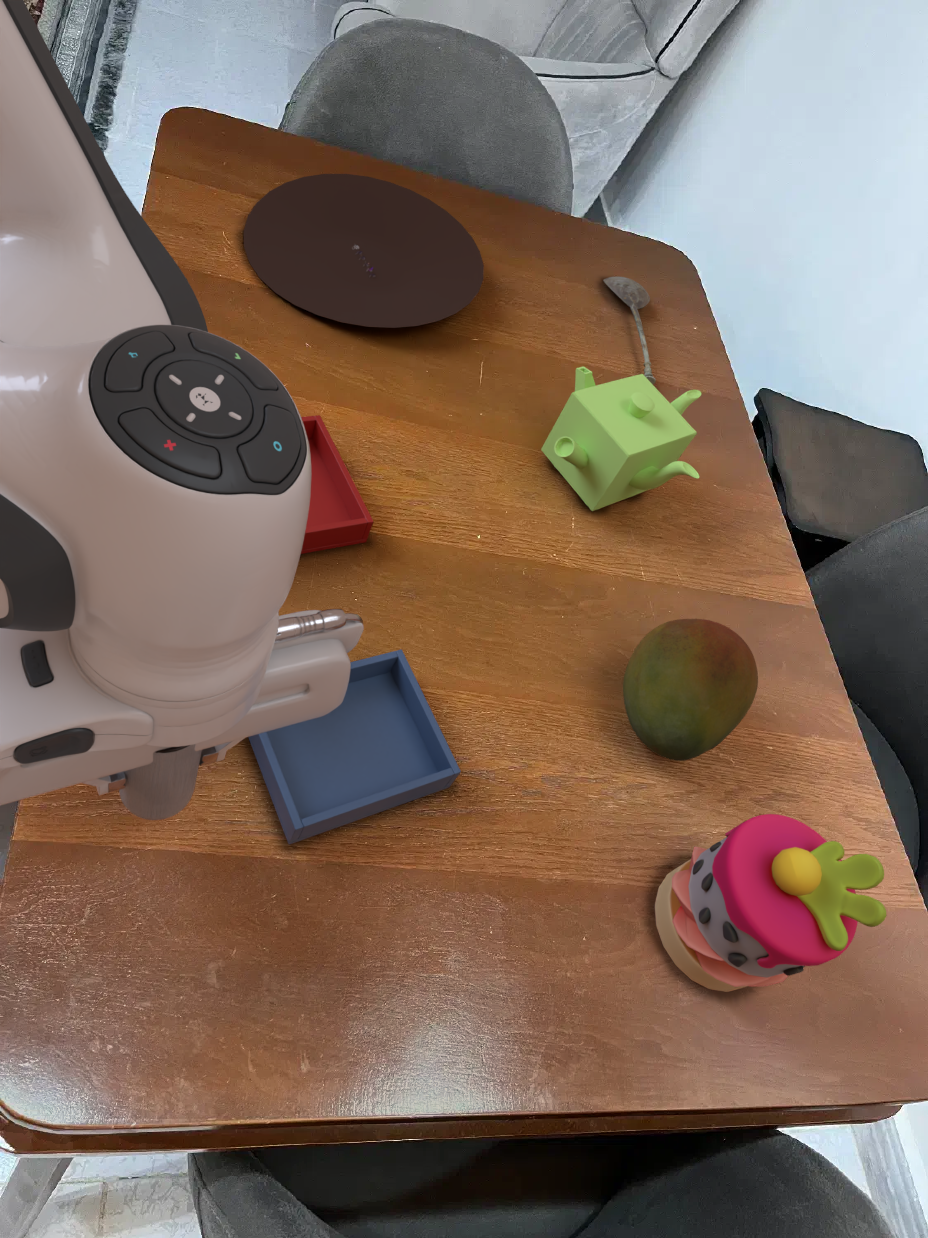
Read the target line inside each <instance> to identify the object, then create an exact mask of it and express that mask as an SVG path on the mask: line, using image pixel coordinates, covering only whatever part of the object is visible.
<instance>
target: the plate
mask: <svg viewBox="0 0 928 1238" xmlns="http://www.w3.org/2000/svg"><path fill="white" fill-rule="evenodd" d="M243 248H244V251H245V254H246V257H247V260H248V262H249V264H250V266H251V267H252V269H253V270H254V271H255V273H256V275H257V277H258V278H259V279H260V280H261V281H262V282H263V283H264V284H265V285H266V286H268V287H269V288H270V289H271V290H272V291H273V292H274V293H275V294H277V295H279V296H280V297H282V298H283V299H285V300H286V301H287V302H290V303H291V304H292V305H294V306H295V307H298V308H300V309H303V310H306V311H308V312H309V313H312V314H314V315H317V316H319V317H323V318H327V319H330V320H333V321H337V322H340V323H345V324H350V325H356V326H361V327H369V328H391V329H396V328H406V327H407V328H408V327H409V328H410V327H418V326H422V325H427V324H432V323H435V322H439V321H441V320H444V319H446V318H449V317H451V316H453V315H456V314H457V313H458V312H460V311H461V310H463V309H464V308H465V307H467V306H468V305H470V304H471V302H472V301H473V300H474V299H475V297H476V296H477V295H478V294H479V293H480V290H481V287H482V284H483V282H484V273H485V272H484V270H485V269H484V268H485V265H484V261H483V257H482V254H481V251H480V249H479V247H478V246H477V243H476V241H475V240H474V238H473V236H472V235H471V233H469V231H468V230H467V229H466V227H464V225H463V224H462V223H461V222H460V221H459V220H457V219H456V217H454V216H453V215H452V214H450V213H449V212H448V211H447V210H446V209H444V208H443V207H441V206H440V205H438V203H435V202H434V201H432V200H431V199H429V198H427V197H425V196H424V195H421V194H420V193H418V192H416V191H413V190H412V189H410V188H407V187H404V186H402V185H399V184H396V183H394V182H391V181H387V180H383V179H379V178H376V177H372V176H367V175H359V174H350V173H319V174H313V175H307V176H302V177H299V178H296V179H292V180H289V181H287V182H284V183H282V184H281V185H278V186H277V187H275V188H273V189H271V190H269V191H268V192H267V193H266V194H264V195H263V196H262V197H261V198H260V199H259V200H258V201H257V202H256V203H255V204H254V206H253V208H252V209H251V210H250V212H249V214H248V215H247V218H246V221H245V225H244V229H243Z"/></svg>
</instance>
